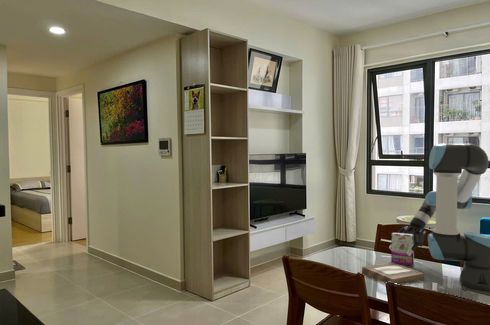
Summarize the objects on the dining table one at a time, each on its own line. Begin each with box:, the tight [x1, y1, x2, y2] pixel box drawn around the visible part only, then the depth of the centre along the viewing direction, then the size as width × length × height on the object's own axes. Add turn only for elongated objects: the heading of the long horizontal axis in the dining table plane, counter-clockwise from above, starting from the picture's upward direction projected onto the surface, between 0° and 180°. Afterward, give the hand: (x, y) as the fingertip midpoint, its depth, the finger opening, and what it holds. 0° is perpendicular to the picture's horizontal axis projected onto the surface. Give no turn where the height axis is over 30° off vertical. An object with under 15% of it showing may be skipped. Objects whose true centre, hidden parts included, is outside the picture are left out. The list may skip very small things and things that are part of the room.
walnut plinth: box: [361, 261, 425, 285], centre depth 179 cm, size 20×20×3 cm
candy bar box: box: [390, 232, 415, 267], centre depth 199 cm, size 11×5×16 cm, turn 61°
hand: (399, 251), depth 198 cm, fingers closed on candy bar box, 11 cm apart
